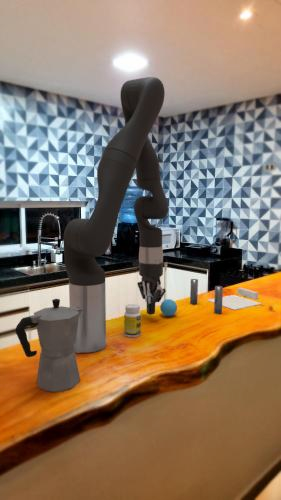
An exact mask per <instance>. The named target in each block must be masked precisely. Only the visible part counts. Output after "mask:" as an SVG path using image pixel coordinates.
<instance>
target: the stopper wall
mask: <svg viewBox="0 0 281 500" xmlns="http://www.w3.org/2000/svg"><path fill="white" fill-rule="evenodd" d="M237 295H240V296H241V297H242V296H243V297H244V298H248V299H251V300H258V299H259V292H257V291H254V290H250V289H248V288H244V287H237Z"/></svg>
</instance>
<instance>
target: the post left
mask: <svg viewBox="0 0 281 500" xmlns="http://www.w3.org/2000/svg"><path fill="white" fill-rule="evenodd" d="M198 287H199V279H197V278H191V279H190V294H189V295H190V296H189V297H190V298H189V303H190V305H193V306H196V305H198V295H199V290H198Z"/></svg>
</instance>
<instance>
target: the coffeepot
mask: <svg viewBox="0 0 281 500" xmlns="http://www.w3.org/2000/svg"><path fill="white" fill-rule="evenodd" d="M51 301H52V306H51V307H45V308H42V309H40V310H37V311H34V312H33V315H28V316H25V317H22V318H21V319H20V320H19V322H18V324H17V325H16V327H15V334H16V337H17V339H18V340H19V341H18V342H19V343H20V345H21V348H22V350H23V352H24V355H25V356H26V358H32V357H35V356H36V355H37V354H38V351H37V350H33V351H32V350H31V344H30V342H29V340H28V336H27V333H26V330H25V329H26V328H27V327H34V326H36V331H37V336H38V341H39V342H38V343H39V346H40V348H41V350H40V351H41V352H40V353H39V361H38V368H37V375H36V382H37V383H38V384H37V387H38V388H39V389H40V390H42V391H44V392H49V393H50V392H51V393H58V392H60V393H61V392H64V391H68V390H71V389H72V388H74V387H75V386H77V385H78V383H79V382H80V381H81V378H80V377H81V376H80V371H79V366H78V361H77V355H76V352H75V351H74V344H75V343H76V335H77V328H78V320H79V316H80V314H81V312H82V311H83V310H84V309H82V308H80V307H70V306H60V303H61V300H60V299H59V298H54V299H52V300H51Z"/></svg>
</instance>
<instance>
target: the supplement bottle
mask: <svg viewBox="0 0 281 500" xmlns="http://www.w3.org/2000/svg"><path fill="white" fill-rule="evenodd" d="M140 307H141V306H140V304H137V303H130V304H126V305H125V308H124V309H125V312H124V316H123V319H124V320H123V322H124V324H123V325H124V327H123V328H124V329H123V332H124V337H125V336H126V337H128V338H137V337H140V336H141V334H142V333H141V331H142V330H141V329H142V326H141V325H142V321H141V320H142V319H141V318H142V313H141V312H140V310H141V308H140Z"/></svg>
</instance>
